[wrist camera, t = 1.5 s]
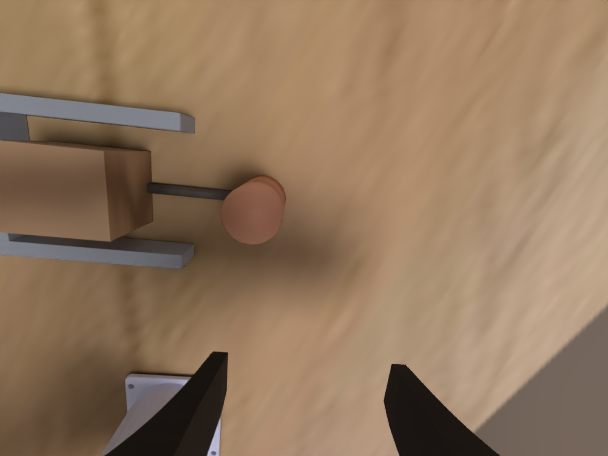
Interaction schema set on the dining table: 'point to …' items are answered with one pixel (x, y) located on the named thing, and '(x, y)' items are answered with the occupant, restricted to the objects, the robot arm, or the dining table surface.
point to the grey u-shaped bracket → (13, 126)
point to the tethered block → (112, 194)
